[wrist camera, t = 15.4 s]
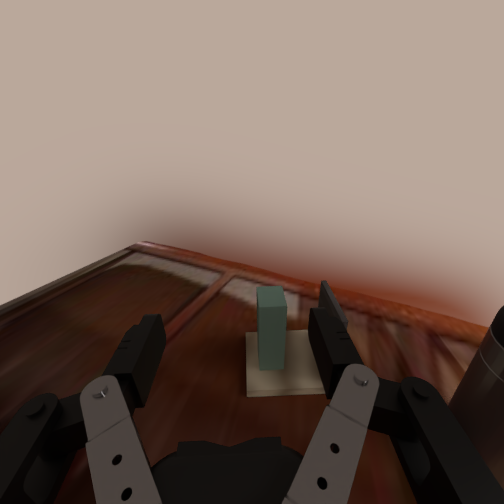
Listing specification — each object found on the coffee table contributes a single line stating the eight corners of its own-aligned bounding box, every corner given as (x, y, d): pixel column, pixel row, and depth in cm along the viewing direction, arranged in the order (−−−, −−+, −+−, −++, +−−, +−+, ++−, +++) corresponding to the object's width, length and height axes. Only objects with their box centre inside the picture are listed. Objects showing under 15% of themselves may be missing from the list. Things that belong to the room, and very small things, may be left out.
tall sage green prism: (279, 344, 46) (281, 285, 40) (283, 369, 41) (287, 306, 35) (257, 345, 46) (256, 286, 40) (259, 370, 41) (258, 307, 35)
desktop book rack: (316, 335, 50) (324, 277, 44) (337, 393, 39) (351, 326, 33) (246, 338, 49) (243, 280, 43) (247, 397, 39) (243, 331, 33)
